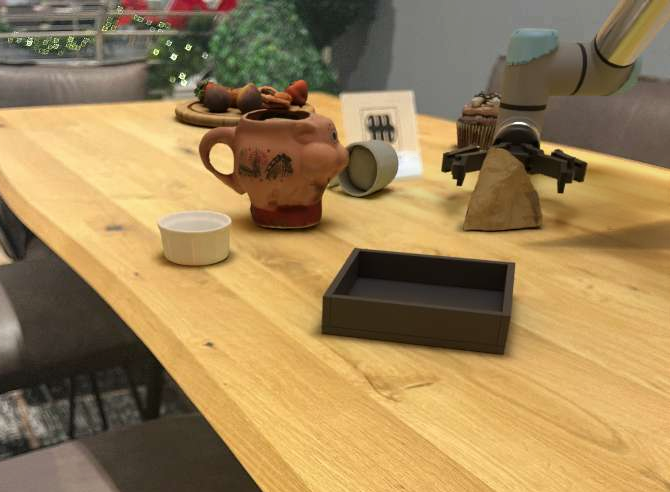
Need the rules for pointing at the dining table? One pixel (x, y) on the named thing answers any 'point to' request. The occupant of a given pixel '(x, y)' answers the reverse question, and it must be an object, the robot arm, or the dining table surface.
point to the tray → (421, 300)
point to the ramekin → (195, 237)
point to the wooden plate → (239, 102)
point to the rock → (503, 196)
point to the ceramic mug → (367, 168)
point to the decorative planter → (280, 164)
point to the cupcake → (478, 121)
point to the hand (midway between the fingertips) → (510, 179)
